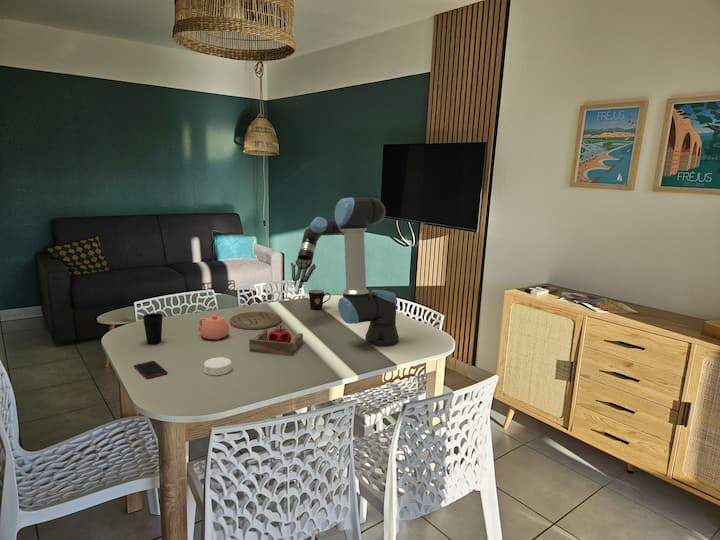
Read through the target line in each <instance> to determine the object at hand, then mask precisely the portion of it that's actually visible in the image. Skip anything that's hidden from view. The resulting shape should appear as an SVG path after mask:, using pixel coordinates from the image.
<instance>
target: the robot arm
mask: <svg viewBox="0 0 720 540" xmlns="http://www.w3.org/2000/svg"><path fill="white" fill-rule="evenodd" d="M385 216H386V208H385V205H384V203H383V202H381V200H379V199H377V198H374V197H344V198H341V199H340V200H338V202H337V204H336V206H335V209H334V220H331V219H330V220H327V219H326V218H324V217H322V216H317V217H315V218H314V219H313V220H312V221H311V222H310V224H309V226H306V227H305V230H304V232H303V237H302V240H301V245H300V247H299V250H298V251H299V252H298V254H297V255H298V256H297V258H296V260H295V262H290V265H291V279H292V281H293V282H294V284H293V287H294V291H293V292H294V294H295V295H296V296H297V295H299V294H300V290H301V289H302V288H303V285H304V283H307V282H308V281H309V279H310V277H311V275H313V272H314V271H315V269H316V268H317V266H316V264H315V263H313V259H314V256H315V250H316V248H317V244H318V241H319V239H320V238H321V237H322V236H344V239H343V240H344V259H345V261H344V263H345V264H344V265H345V290H344V291H343V292H342V297H340V298H339V299H338V303H337V306H338V307H337V308H338V312H339V315H340V317H341V319H342V320H343V322H344V323H346V324H350V325H352V324H360V323H366V322H369V326H368V328H367V330H366V331H367V332H366V333H365V342H366V343H368V344H370V345H373V346H378V347H390V346H391V347H392V346H395V345H397V344H398V343H399V341H400V340H399V339H400V338H399V333H398V329H397V326H396V323H397V321H396V320H397V305H398V301H397V299H398V298H397V295H396V294H395V292H392V291H390V290H383V289H372V290H371V292H370V290H368V289H367V280H366V279H367V278H366V276H367V275H366V274H367V273H366V253H365V252H366V250H365V246H366V245H365V232H366V231H367V230H368V225H369V226H374V225H377V224H379V223H381V222H382V221H383V220H384V219H385ZM296 267H297V270H296Z"/></svg>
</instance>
